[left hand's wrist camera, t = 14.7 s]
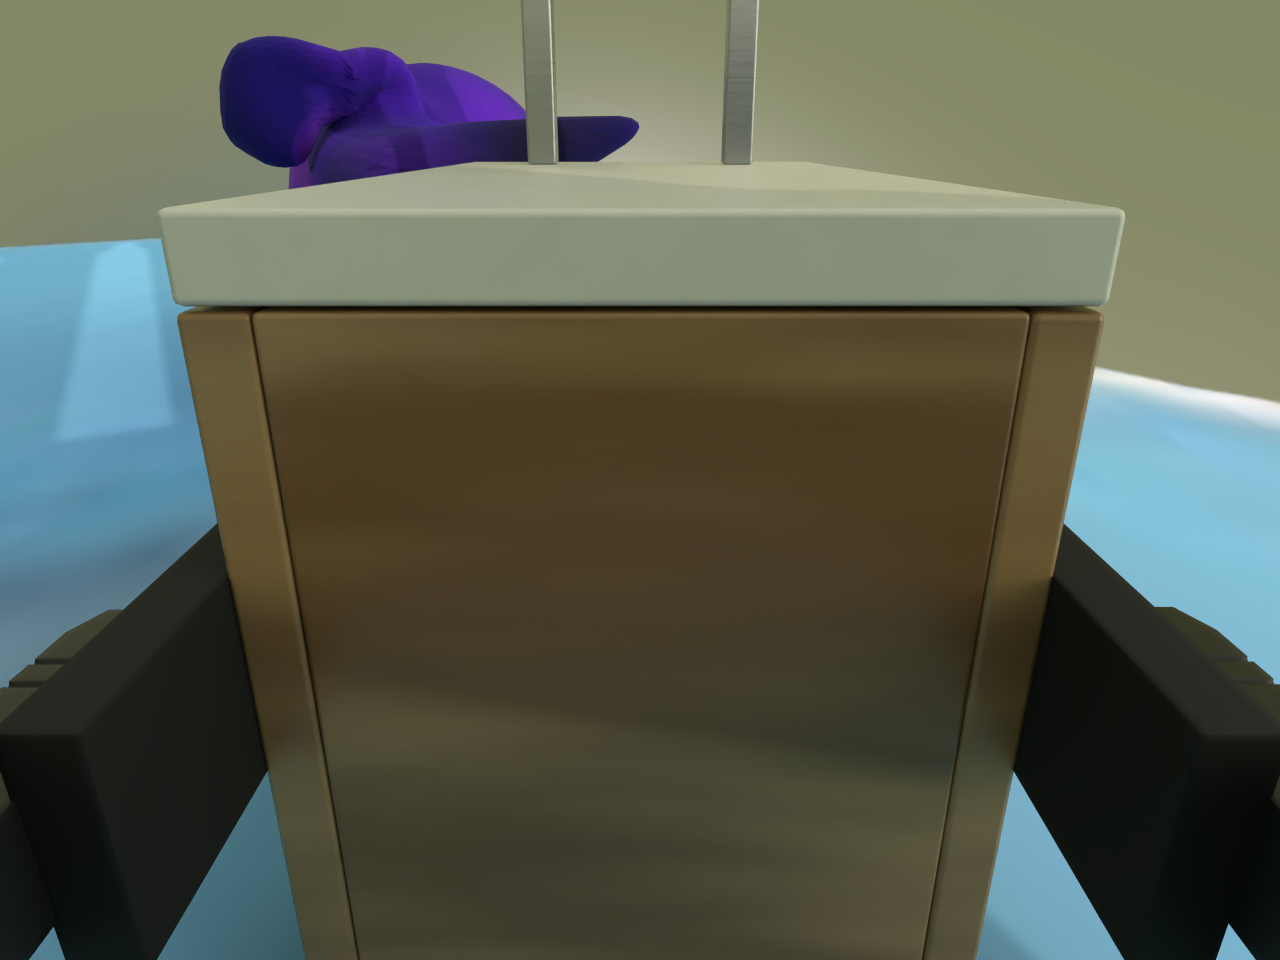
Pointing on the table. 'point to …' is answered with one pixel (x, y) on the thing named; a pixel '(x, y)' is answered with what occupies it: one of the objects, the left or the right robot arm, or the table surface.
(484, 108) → the toy
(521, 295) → the lid
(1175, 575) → the table surface
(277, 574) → the chest
